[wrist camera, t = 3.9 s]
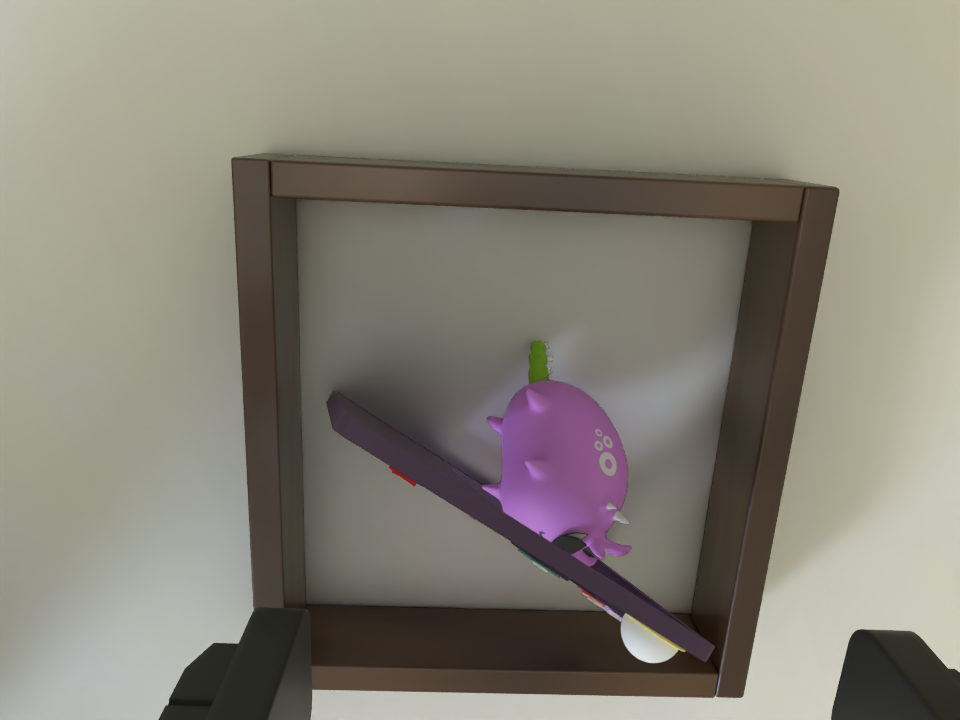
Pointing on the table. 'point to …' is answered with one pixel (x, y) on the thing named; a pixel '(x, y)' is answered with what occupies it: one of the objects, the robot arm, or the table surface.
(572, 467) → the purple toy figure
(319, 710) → the table surface
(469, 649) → the brown square frame
